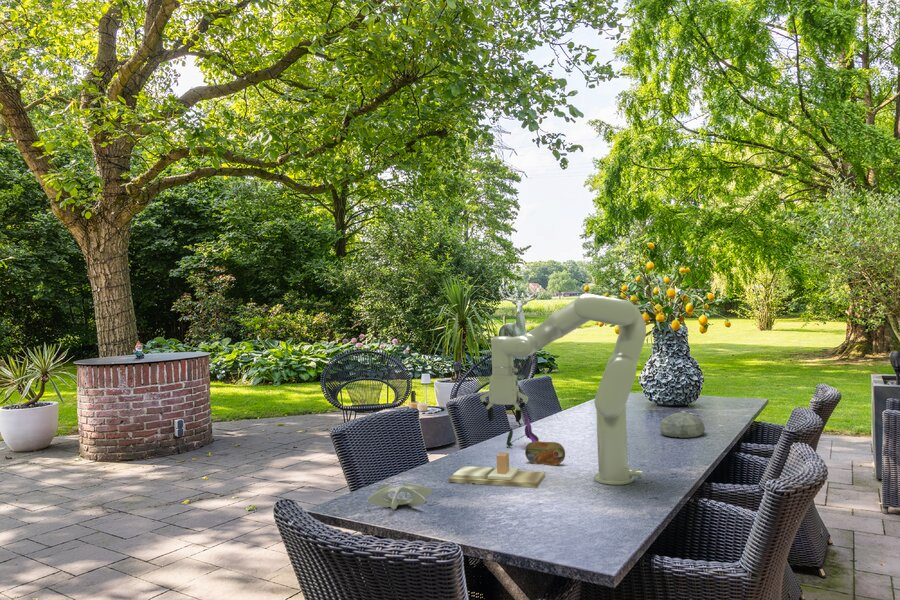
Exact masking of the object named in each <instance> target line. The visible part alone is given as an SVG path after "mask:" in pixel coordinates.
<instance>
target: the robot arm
mask: <svg viewBox="0 0 900 600" xmlns="http://www.w3.org/2000/svg"><path fill="white" fill-rule="evenodd" d="M644 318H645V317H644V316H643V314H642V313H641V311H640V310H639V309H638V307H636V305H634V304H633V302H631V301H630V300H626V299H621V298H615V297H609V296H603V295H599V294H593V293H588V292H586V293H583V294H580V295H579V296H578V297H577V298H575V299H574V300H572V301H571V302H569V303H568V304H566V305H565V306H563V307H561V308H560V309H558V310H556V311H555V312H553V313H552V314H550V315H549V316H548V317H547V318H546V319H545V320H544V321H543V322H542V323H540V324H539V325H537V326H535V327H533V328H532V329H531V330H529V331H528V332H526V333H524V334H521V335H516V336H509V335H504V336H503V335H499V336H492V338H491V342H490V343H491V368H492V371H491V372H492V374H491V375H490V377H489V384H488V392H486V393H484V394H482V395H479V400H480V401H481V402H482V405H483V406H484V408H486V410H487V418H488V421H489V422H491V421H493V420H494V408H493V406H494V405H506V406H508V405H513V406H514V408H515V422H517V423H519V422H520V421H521V420H522V409H523V408H524V407H525V406H526V404H527V402H528V400H529V396H528V395H525V394H523V393H522V392H521V391H520V389H519V382H518V381H519V380H518V376H517V375H516V374H515V373H518V372H519V369H518V368H517V367H515V365H514V364H515V363H514V357H515V358H527V357H529V356H531V355H533V354H535V353H536V352H538V351H540V350H541V349H543V348H544V347H546V346H548V345H550V344H551V343H553V342H554V341H556V340H557V341H558V339H561V338H563V337H565V336H567V335H568V334H570V333H571V332H573V331H574V330H576V329H578V328H579V327H582V326H583V325H585V324H586V323H588V322H590V321H591V322H598V323H603V324H608V325H613V326H618V328H619V329H618V330H619V332H618V336H617V339H616V342H615V345H614V349H613V350H612V354H611V356H610V358H609V359H608V361H607V363H606V365H605V369H604V371H603V374H602V377H601V380H600V383H599V385H598V389H597V392H596V393H595V397H594V403H593V404H594V407H595V410H596V434H597V435H596V436H597V438H596V439H597V459H598V460H597V461H598V463H597V464H598V473H596V474H594V475H593V479H594V481H595V482H596V483H600V484H604V485H614V486H615V485H618V486H619V485H627V484H630V483H632V482H634V477H643V470H640V469H632V468H630V465H629V460H628V459H629V458H628V437H627V435H628V434H627V408H626V407H627V406H626V404H627V401H628V399H629V397H630V393H631V391H632V387H633V385H634V382H635V379H636V375H637V366H638V362H639V360H640V356H641V353H642V350H643V347H644V344H645V341H646V334H647V325H646V321H645V319H644ZM487 397H488V401H487V400H486V398H487ZM520 399H521V400H522V402H521V403H520Z"/></svg>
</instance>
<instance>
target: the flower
mask: <svg viewBox="0 0 900 600" xmlns="http://www.w3.org/2000/svg"><path fill="white" fill-rule="evenodd" d="M523 418H524V423H525V427H524V435H521V437H519V438H516V439H515V440H513V441H512V438H513V434H514V431H513V427H511V428H510V430H509V432H508V436H507V440H506V446H508V447H509V446H511V447H512V446H513V445H514V444H513V442H515V441H517V440H520V439H522V438H524V437H526V438H527V439H529V440H531V442H534V441H539V439H540V438H539V437H538V436H537V435H536V434H534V433H533V431H532V430H533V429H532V423H531V422H530V419H529V415H528V412H527V411H525V416H524V417H523Z"/></svg>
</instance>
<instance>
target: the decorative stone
mask: <svg viewBox="0 0 900 600" xmlns="http://www.w3.org/2000/svg"><path fill="white" fill-rule="evenodd" d="M659 430H660V433H661V434H662V435H663V436H667V437H673V438H677V437H679V438H680V439H683V438H685V439H686V438H687V439H688V438H697V437H700V436H702V435H704V432H705V431H706V428H705V425H704V422H703V420H702V418H700V417H698V416H697V415H696V414H695V413H693V412H689V413H688V412H686V411H680V412H675V413H672V414H669V415H667V416H666V417H664V418H663V419H662V420H661V421H660V426H659ZM679 438H678V439H679Z"/></svg>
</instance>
